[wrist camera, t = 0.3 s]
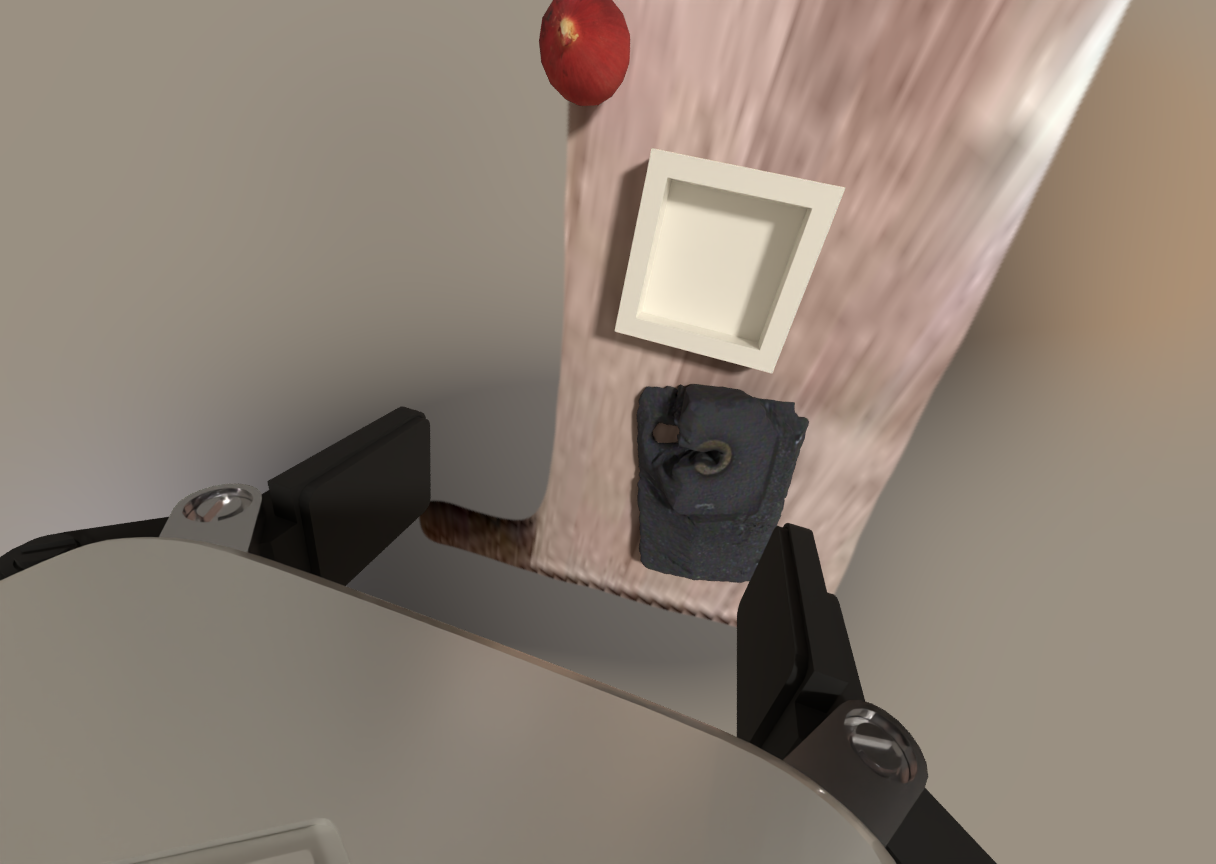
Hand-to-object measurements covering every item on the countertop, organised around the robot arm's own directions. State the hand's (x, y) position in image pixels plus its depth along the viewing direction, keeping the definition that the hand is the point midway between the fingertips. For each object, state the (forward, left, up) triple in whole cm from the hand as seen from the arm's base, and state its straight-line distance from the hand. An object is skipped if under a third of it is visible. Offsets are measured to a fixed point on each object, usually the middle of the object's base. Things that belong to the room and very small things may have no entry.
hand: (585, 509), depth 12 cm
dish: (-4, +1, -30) cm, 30 cm away
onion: (-15, -11, -30) cm, 35 cm away
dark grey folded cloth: (+17, +6, -31) cm, 35 cm away
